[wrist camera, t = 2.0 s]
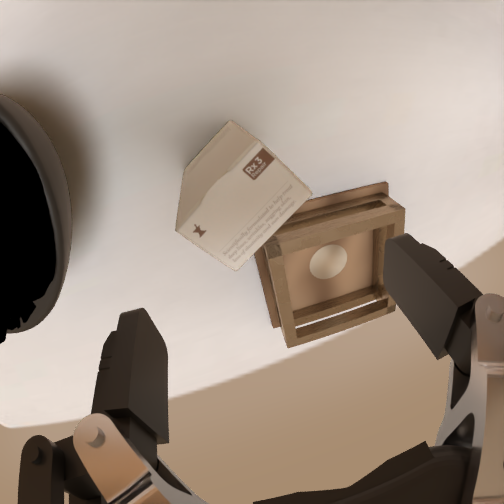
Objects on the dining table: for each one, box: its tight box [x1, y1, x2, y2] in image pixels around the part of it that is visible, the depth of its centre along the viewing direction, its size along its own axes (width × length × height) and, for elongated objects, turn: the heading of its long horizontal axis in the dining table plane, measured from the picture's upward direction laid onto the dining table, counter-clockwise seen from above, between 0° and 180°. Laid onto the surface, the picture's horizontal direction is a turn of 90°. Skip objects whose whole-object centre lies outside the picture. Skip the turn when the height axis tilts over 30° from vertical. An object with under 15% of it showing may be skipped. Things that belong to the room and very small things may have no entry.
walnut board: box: [254, 182, 388, 328], centre depth 32 cm, size 15×15×1 cm
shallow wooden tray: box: [261, 192, 405, 348], centre depth 30 cm, size 13×13×4 cm
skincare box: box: [175, 120, 312, 271], centre depth 19 cm, size 6×4×12 cm
